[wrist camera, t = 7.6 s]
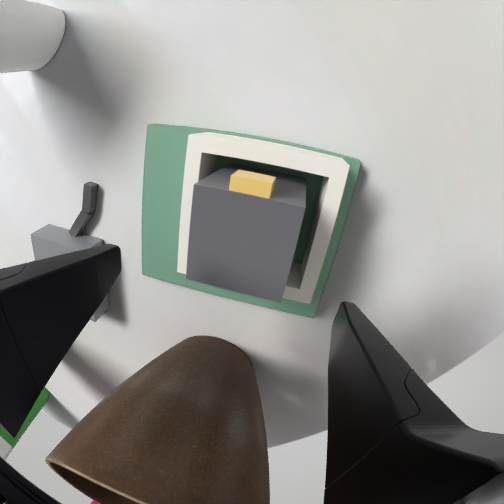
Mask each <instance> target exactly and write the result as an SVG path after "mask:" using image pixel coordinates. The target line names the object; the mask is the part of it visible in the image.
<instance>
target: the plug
mask: <svg viewBox="0 0 504 504" xmlns="http://www.w3.org/2000/svg"><path fill="white" fill-rule="evenodd" d="M305 208H306V178H302V177H298V176H293V175H289V174H284V173H280V172H275V171H270V170H265V169H260V168H255V167H250V166H245V165H240V164H234V163H230V164H229V165H227V166H225V167H223V168H221V169H220V170H218V171H216V172H214V173H213V174H211V175H209V176H207V177H206V178H204V179H202V180H200V181H199V182H197V183H195V184H194V188H193V197H192V207H191V218H190V229H189V241H188V254H187V269H186V279H188V280H191V281H195V282H199V283H203V284H207V285H210V286H214V287H218V288H222V289H226V290H230V291H234V292H238V293H242V294H246V295H250V296H254V297H258V298H262V299H267V300H271V301H275V302H279V303H281V301H282V297H283V294H284V290H285V287H286V283H287V279H288V275H289V272H290V268H291V264H292V260H293V256H294V252H295V249H296V245H297V241H298V237H299V233H300V229H301V225H302V221H303V217H304V212H305Z"/></svg>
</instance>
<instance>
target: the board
mask: <svg viewBox="0 0 504 504" xmlns="http://www.w3.org/2000/svg"><path fill="white" fill-rule="evenodd" d="M230 163H234V164H240V165H245V166H250V167H255V168H260V169H265V170H270V171H275V172H280V173H284V174H289V175H293V176H298V177H302V178H306V208H305V212H304V217H303V221H302V225H301V229H300V233H299V237H298V241H297V245H296V249H295V252H294V256H293V260H292V264H291V268H290V272H289V275H288V279H287V283H286V287H285V290H284V294H283V297H282V301H281V303H279V302H275V301H271V300H267V299H262V298H258V297H254V296H250V295H246V294H242V293H238V292H234V291H230V290H226V289H222V288H218V287H214V286H210V285H207V284H203V283H199V282H195V281H191V280H188V279H186V269H187V254H188V241H189V229H190V218H191V207H192V197H193V188H194V184H195V183H197V182H199V181H200V180H202V179H204V178H206V177H207V176H209V175H211V174H213V173H214V172H216V171H218V170H220V169H221V168H223V167H225V166H227V165H229V164H230ZM360 164H361V161H360V160H358V159H355V158H351V157H348V156H344V155H340V154H336V153H332V152H328V151H324V150H320V149H316V148H312V147H307V146H303V145H298V144H294V143H289V142H284V141H279V140H274V139H269V138H263V137H258V136H252V135H246V134H240V133H233V132H226V131H219V130H212V129H204V128H195V127H186V126H176V125H165V124H148V127H147V137H146V148H145V161H144V176H143V197H142V275H145V276H149V277H152V278H156V279H159V280H163V281H166V282H170V283H173V284H177V285H180V286H184V287H188V288H191V289H195V290H199V291H203V292H206V293H210V294H214V295H218V296H222V297H226V298H230V299H234V300H238V301H242V302H246V303H250V304H254V305H258V306H262V307H267V308H271V309H275V310H280V311H284V312H288V313H293V314H297V315H302V316H307V317H311V318H314V316H315V313H316V311H317V308H318V305H319V302H320V299H321V296H322V294H323V291H324V288H325V285H326V282H327V279H328V276H329V273H330V270H331V267H332V264H333V260H334V257H335V254H336V251H337V248H338V244H339V241H340V238H341V234H342V231H343V228H344V224H345V221H346V217H347V214H348V210H349V207H350V203H351V199H352V196H353V192H354V188H355V184H356V180H357V176H358V173H359V168H360Z"/></svg>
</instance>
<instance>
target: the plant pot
mask: <svg viewBox="0 0 504 504" xmlns="http://www.w3.org/2000/svg"><path fill="white" fill-rule="evenodd" d="M45 461H46V463H47V464H48V465H49V467H50V468H51V469H53V470H54V471H55V472H56V473H57V474H58V475H59V476H60V477H62V478H63V479H64V480H66V481H67V482H68V483H69V484H71V485H72V486H73V487H75V488H76V489H78V490H79V491H80V492H82V493H84V494H85V495H87V496H88V497H90V498H91V499H93V500H94V501H96V502H98V503H99V504H270V489H269V463H268V451H267V440H266V431H265V425H264V418H263V412H262V406H261V401H260V396H259V391H258V386H257V382H256V378H255V374H254V370H253V367H252V364H251V362H250V360H249V359H248V357H247V356H246V355H245V354H244V353H243V352H242V351H241V350H240V349H239V348H237V347H236V346H234V345H233V344H231V343H229V342H227V341H225V340H222V339H219V338H216V337H211V336H194V337H190V338H187V339H185V340H183V341H182V342H180V343H178V344H177V345H175V346H174V347H172V348H170V349H169V350H167V351H166V352H164V353H163V354H161V355H160V356H158V357H157V358H155V359H154V360H152V361H151V362H150V363H148V364H147V365H145V366H144V367H143V368H142V369H140V370H139V371H138V372H136V373H135V374H134V375H132V376H131V377H130V378H128V379H127V380H126V381H125V382H123V383H122V384H121V385H120V386H119V387H117V388H116V389H115V390H114V391H113V392H112V393H110V394H109V395H108V396H107V397H106V398H105V399H103V400H102V401H101V402H100V403H99V404H98V405H97V406H96V407H95V408H93V409H92V410H91V411H90V412H89V413H88V414H87V415H86V416H85V417H84V418H83V419H82V420H81V421H80V422H79V423H78V424H77V425H76V426H75V427H74V428H73V429H72V430H71V431H70V432H69V433H68V434H67V436H66V437H65V438H64V439H63V440H62V441H61V442H60V443H59V444H58V445H57V446H56V447H55V449H54V450H53V451H52V452H51V453H50V454H49V455H48V456H47V457H46V459H45Z"/></svg>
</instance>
